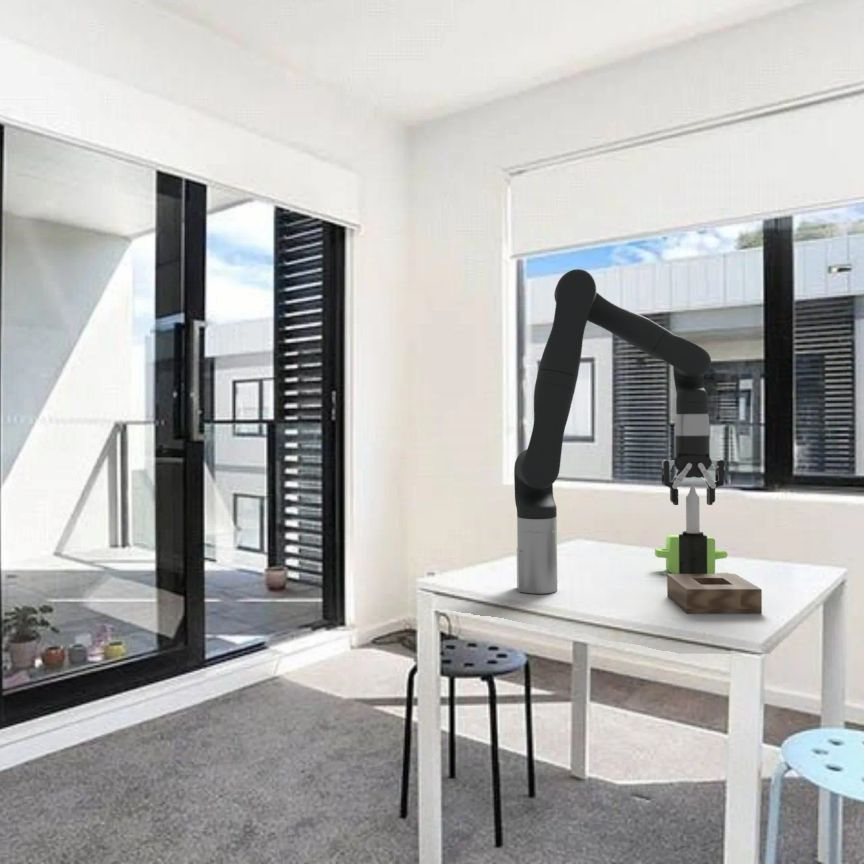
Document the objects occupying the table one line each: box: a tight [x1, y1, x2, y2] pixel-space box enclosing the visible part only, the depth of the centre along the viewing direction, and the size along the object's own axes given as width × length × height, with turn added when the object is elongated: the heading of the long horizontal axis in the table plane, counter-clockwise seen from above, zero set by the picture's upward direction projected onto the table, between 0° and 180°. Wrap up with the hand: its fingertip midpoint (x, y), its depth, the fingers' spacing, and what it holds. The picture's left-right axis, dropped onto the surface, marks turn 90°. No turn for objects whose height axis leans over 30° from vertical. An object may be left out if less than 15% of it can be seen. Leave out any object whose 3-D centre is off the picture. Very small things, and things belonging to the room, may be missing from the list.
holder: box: [666, 573, 763, 615], centre depth 159 cm, size 15×15×5 cm
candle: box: [678, 482, 708, 574], centre depth 172 cm, size 5×5×25 cm
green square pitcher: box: [654, 534, 728, 574], centre depth 193 cm, size 18×10×10 cm, turn 84°
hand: (692, 504), depth 172 cm, fingers open, 7 cm apart
